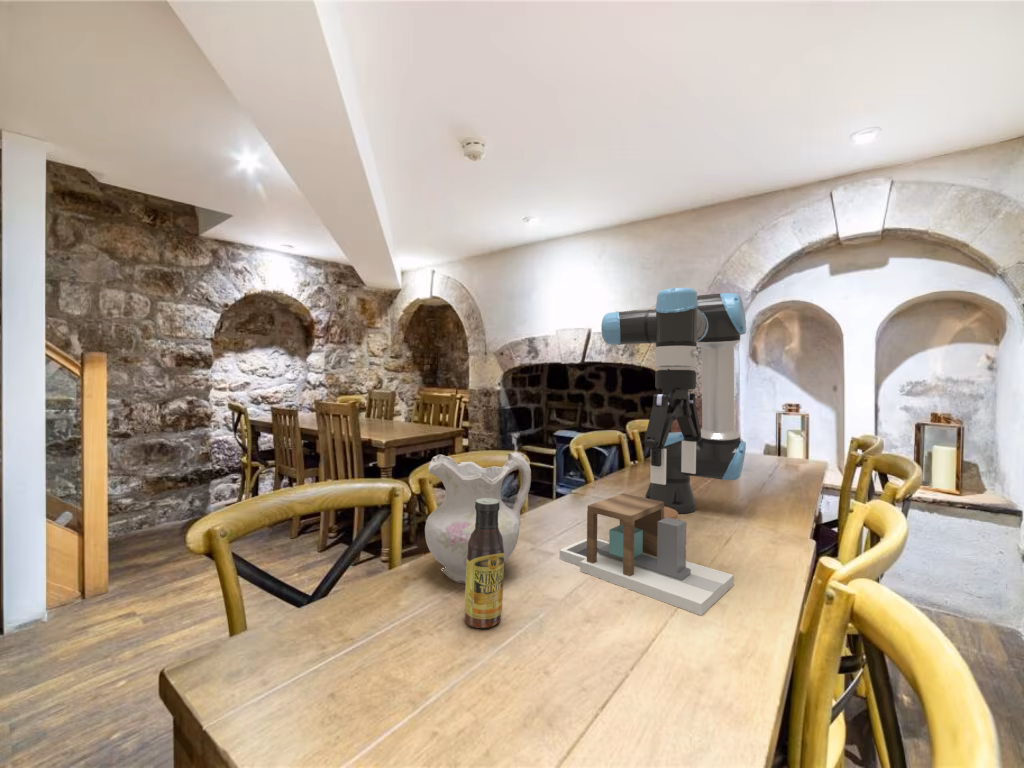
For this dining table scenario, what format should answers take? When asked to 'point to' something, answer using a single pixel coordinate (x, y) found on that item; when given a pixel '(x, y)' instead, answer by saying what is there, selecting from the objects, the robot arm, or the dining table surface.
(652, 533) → the tunnel
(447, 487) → the ceramic pitcher
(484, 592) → the sauce bottle
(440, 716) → the dining table surface
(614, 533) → the block
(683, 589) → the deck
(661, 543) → the grey l-shaped piece
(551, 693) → the dining table surface
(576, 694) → the dining table surface
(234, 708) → the dining table surface
